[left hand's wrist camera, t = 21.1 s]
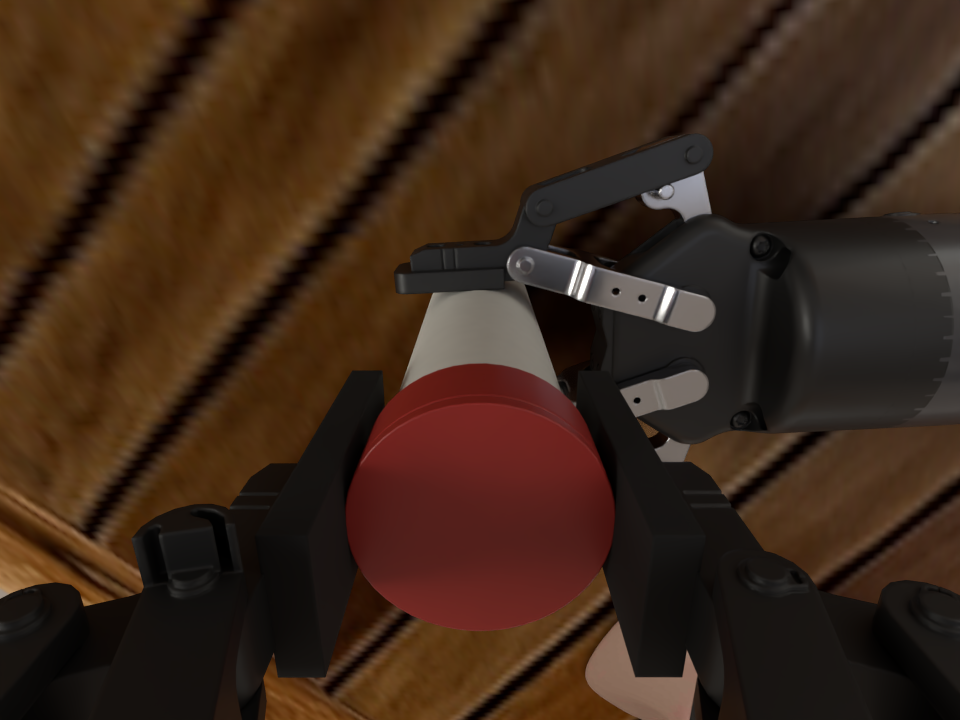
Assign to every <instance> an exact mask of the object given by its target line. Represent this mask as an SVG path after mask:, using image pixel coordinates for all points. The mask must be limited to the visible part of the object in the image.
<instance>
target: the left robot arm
mask: <svg viewBox="0 0 960 720" xmlns="http://www.w3.org/2000/svg"><path fill="white" fill-rule="evenodd" d="M384 408H385V405H384V390H383V374H382V371H352V372H351V374H350V376H349V377H348V379H347V381H346V382H345V384H344V386H343V387H342V389H341V391H340V393H339V394H338V396H337V398H336V399H335V401H334V403H333V404H332V406H331V408H330V409H329V411H328V413H327V415H326V416H325V418H324V420H323V421H322V423H321V425H320V426H319V428H318V430H317V431H316V433H315V435H314V436H313V438H312V440H311V442H310V443H309V445H308V447H307V448H306V450H305V452H304V453H303V455H302V457H301V458H300V460H299V462H298V464H269V465H268V466H266V467H265V468H263V469H262V470H260V471H259V472H258V473H256V474H255V475H253V476H252V477H251V478H250V479H249V480H248V482H247V483H246V485H245V486H244V487H243V489H242V490H241V492H240V495H239V496H237V497H236V499H235V500H234V502H233V503H232V504H231V506H230V510H228V509H227V508H226V507H222V506H218V505H214V504H194V505H190V506H185V507H181V508H177V509H174V510H171V511H169V512H166V513H164V514H162V515H159V516H157V517H155V518H154V519H152V520H151V521H149V522H148V523H147V524H145V525H144V526H142V527H141V528H140V529H139V530H138V532H137V533H136V534H135V535H134V536H133V538H132V543H133V546H134V550H135V554H136V558H137V562H138V566H139V570H140V574H141V577H142V581H143V585H144V588H143V590H142V593H139V594H136V595H132V596H129V597H125V598H120V599H116V600H111V601H107V602H102V603H98V604H93V605H89V606H84V605H83V602H82V599H81V596H80V593H79V591H78V590H76V589H75V588H74V587H73V586H72V585H69V584H62V583H56V582H55V583H48V584H40V585H34V586H31V587H28V588H25V589H21V590H18V591H16V592H13V593H11V594H9V595H7V596H5V597H3V598H1V599H0V720H265V711H266V702H267V700H266V693H265V686H264V680H263V677H264V675H265V672H266V670H267V667H268V665H269V663H270V660H271V658H272V655H273V653H274V656H275V662H276V668H277V674H278V677H326V674H327V670H328V667H329V664H330V660H331V657H332V653H333V650H334V647H335V643H336V640H337V636H338V633H339V630H340V626H341V623H342V620H343V616H344V613H345V609H346V606H347V603H348V599H349V596H350V593H351V589H352V586H353V582H354V579H355V576H356V572H357V569H358V565H357V564H356V561H355V559H354V557H353V555H352V552H351V550H350V547H349V543H348V536H347V526H346V515H345V503H346V498H347V492H348V489H349V486H350V483H351V480H352V478H353V475H354V472H355V470H356V468H357V465H358V462H359V460H360V457H361V455H362V452H363V450H364V447H365V445H366V442H367V440H368V437H369V434H370V432H371V429H372V427H373V425H374V423H375V421H376V420H377V418H378V416H379V414H380V413H381V412H382V410H383V409H384ZM576 408H577V409H578V411H579V412H580V414H581V415H582V417H583V419H584V420H585V422H586V424H587V426H588V429H589V431H590V433H591V436H592V438H593V441H594V443H595V446H596V448H597V451H598V453H599V456H600V458H601V461H602V464H603V466H604V469H605V471H606V474H607V476H608V479H609V481H610V484H611V486H612V490H613V495H614V499H615V522H614V532H613V541H612V546H611V548H610V551H609V554H608V556H607V559H606V561H605V562H604V564H603V566H602V567H603V570H604V574H605V577H606V580H607V584H608V587H609V591H610V594H611V597H612V601H613V604H614V608H615V611H616V614H617V618H618V621H619V624H620V628H621V631H622V635H623V638H624V641H625V645H626V648H627V651H628V655H629V658H630V662H631V665H632V668H633V672H634V675H635V677H683V671H684V665H685V659H686V653H687V651H688V653H689V656H690V658H691V661H692V663H693V665H694V668H695V670H696V673H697V680H696V686H695V692H694V697H693V703H692V708H691V714H690V719H689V720H960V595H958V594H956V593H954V592H952V591H950V590H947V589H945V588H942V587H938V586H936V585H932V584H929V583H924V582H916V581H909V580H904V581H897V582H891V583H889V584H888V585H887V586H886V587H885V588H884V589H882V592H881V595H880V598H879V602H878V604H874V603H869V602H865V601H860V600H855V599H851V598H846V597H842V596H837V595H833V594H830V593H826V592H823V591H819V590H818V589H817V587H816V585H815V584H814V583H813V581H812V580H811V578H810V577H809V575H808V574H807V573H806V572H805V571H803V570H802V569H801V568H799V567H798V566H797V565H796V564H794V563H793V562H791V561H789V560H787V559H785V558H783V557H781V556H779V555H777V554H774V553H770V552H766V551H764V550H763V548H762V547H761V546H760V544H759V543H758V542H757V540H756V539H755V537H754V536H753V535H752V533H751V532H750V530H749V529H748V528H747V526H746V525H745V523H744V522H743V521H742V519H741V518H740V516H739V515H738V514H737V512H736V511H735V509H734V508H731V504H730V502H729V501H728V500H727V498H726V497H725V495H724V494H721V490H720V489H719V487H718V486H717V484H716V483H715V482H714V480H713V479H712V477H711V476H710V475H709V474H707V473H706V472H704V471H703V470H702V469H700V468H699V467H697V466H696V465H694V464H693V463H691V462H662V461H661V459H660V457H659V456H658V454H657V452H656V451H655V449H654V447H653V446H652V444H651V442H650V441H649V439H648V437H647V435H646V434H645V432H644V430H643V429H642V427H641V425H640V424H639V422H638V420H637V419H636V417H635V415H634V414H633V412H632V410H631V408H630V407H629V405H628V403H627V402H626V400H625V398H624V397H623V395H622V393H621V392H620V390H619V388H618V386H617V385H616V383H615V381H614V380H613V378H612V376H611V375H610V373H609V371H578V383H577V398H576Z"/></svg>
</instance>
